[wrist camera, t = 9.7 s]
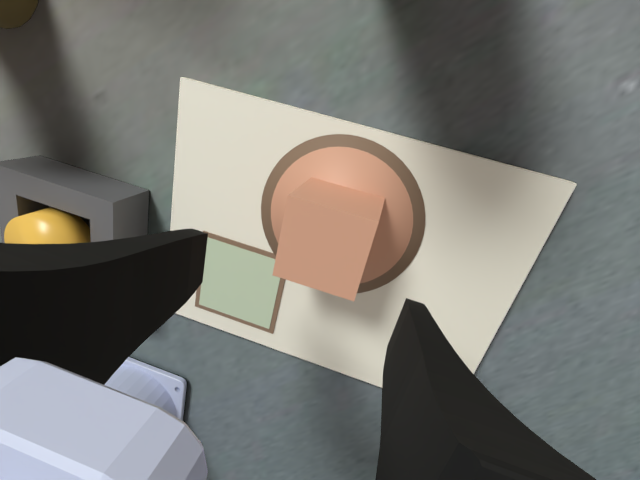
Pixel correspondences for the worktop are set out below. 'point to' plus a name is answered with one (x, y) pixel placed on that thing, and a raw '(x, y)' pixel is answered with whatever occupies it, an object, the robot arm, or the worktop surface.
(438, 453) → the robot arm
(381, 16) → the worktop surface
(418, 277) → the picture board
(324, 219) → the terracotta crayon block
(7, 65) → the worktop surface
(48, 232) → the button
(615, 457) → the worktop surface
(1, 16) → the pepper mill
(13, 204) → the button housing
